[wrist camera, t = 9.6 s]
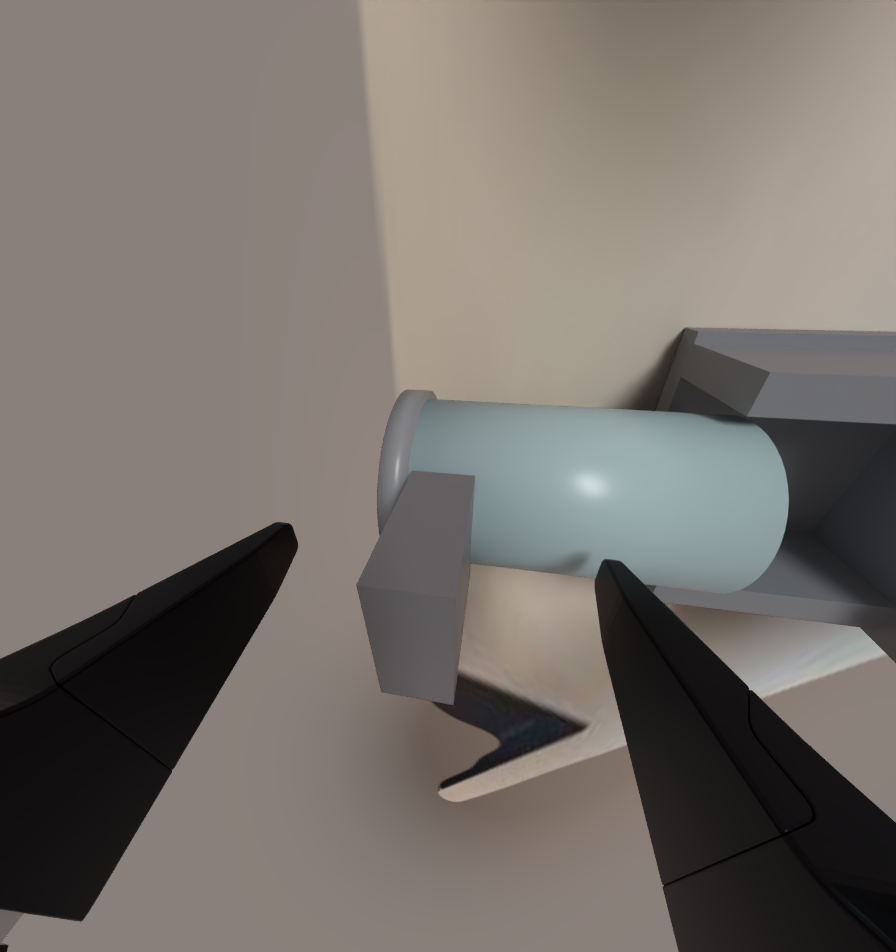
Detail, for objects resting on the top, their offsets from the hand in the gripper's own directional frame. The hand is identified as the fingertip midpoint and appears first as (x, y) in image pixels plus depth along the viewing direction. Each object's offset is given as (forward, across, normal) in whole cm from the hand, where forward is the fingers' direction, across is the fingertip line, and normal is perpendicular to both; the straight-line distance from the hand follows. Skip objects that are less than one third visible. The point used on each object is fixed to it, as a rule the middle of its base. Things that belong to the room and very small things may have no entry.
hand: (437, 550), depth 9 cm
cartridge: (+7, -4, 0) cm, 8 cm away
